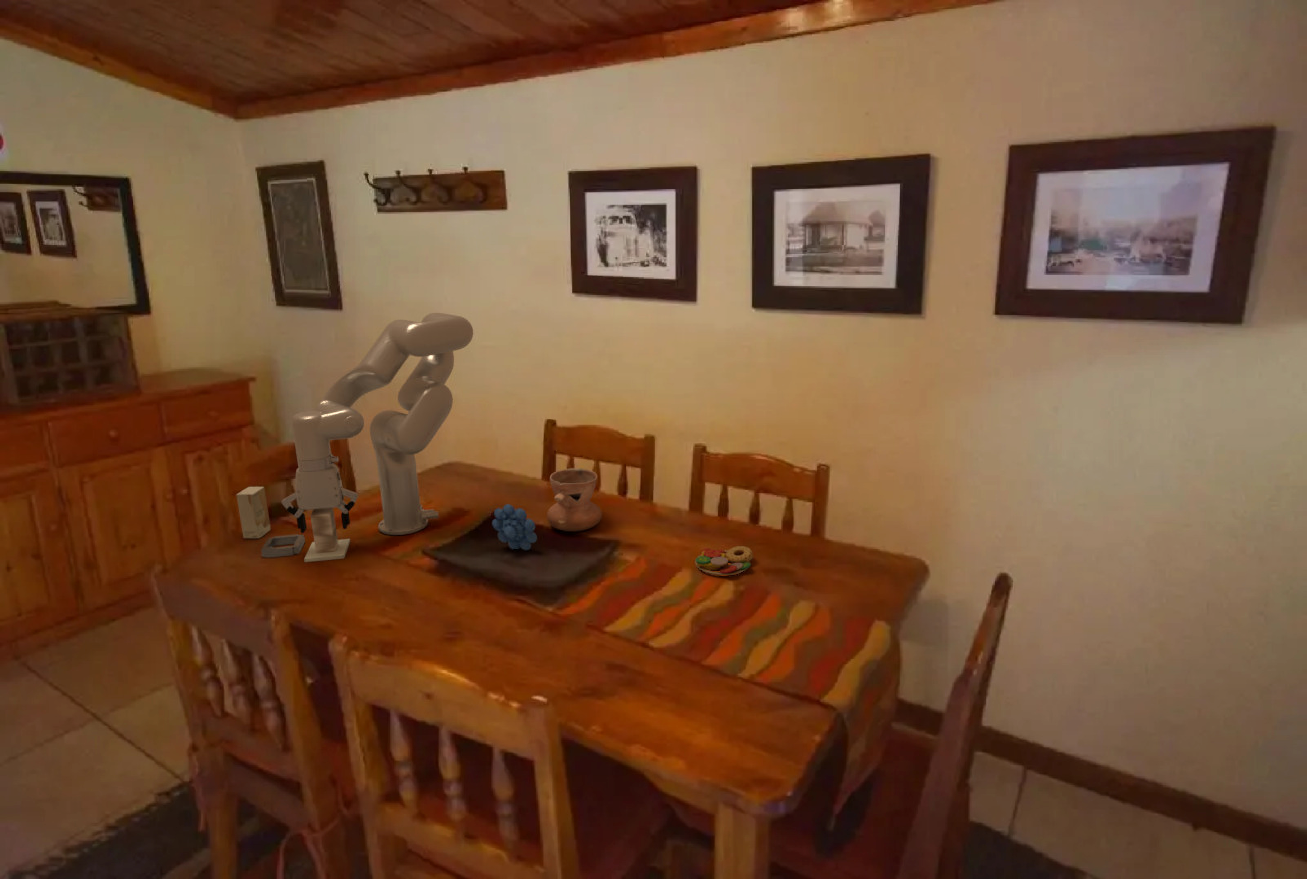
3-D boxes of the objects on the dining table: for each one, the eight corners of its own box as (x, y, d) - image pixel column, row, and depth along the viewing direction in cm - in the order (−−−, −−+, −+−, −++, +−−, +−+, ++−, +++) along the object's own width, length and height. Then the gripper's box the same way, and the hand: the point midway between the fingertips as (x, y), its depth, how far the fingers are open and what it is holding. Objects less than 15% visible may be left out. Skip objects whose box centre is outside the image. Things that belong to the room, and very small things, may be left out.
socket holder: (305, 540, 197) (304, 533, 196) (298, 554, 189) (297, 547, 188) (270, 544, 195) (268, 536, 194) (261, 558, 187) (260, 550, 186)
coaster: (350, 541, 196) (349, 538, 196) (344, 558, 187) (343, 555, 186) (312, 545, 194) (312, 542, 194) (304, 562, 185) (304, 559, 184)
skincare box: (259, 538, 198) (252, 494, 194) (243, 539, 198) (235, 494, 194) (272, 528, 204) (264, 485, 201) (255, 528, 204) (248, 485, 201)
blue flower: (486, 554, 188) (482, 509, 184) (498, 543, 194) (495, 499, 190) (530, 559, 185) (527, 513, 181) (541, 548, 191) (538, 503, 188)
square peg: (338, 544, 193) (332, 507, 190) (335, 551, 188) (329, 513, 185) (319, 545, 192) (314, 508, 189) (316, 553, 188) (310, 515, 185)
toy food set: (755, 558, 185) (755, 545, 184) (747, 583, 173) (747, 569, 172) (701, 552, 189) (701, 540, 188) (689, 576, 177) (689, 563, 176)
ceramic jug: (583, 542, 194) (582, 489, 190) (534, 532, 200) (532, 481, 196) (615, 518, 210) (614, 468, 206) (568, 509, 216) (567, 461, 212)
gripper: (355, 455, 189) (363, 519, 194) (280, 460, 185) (290, 526, 190) (351, 465, 182) (359, 531, 187) (272, 470, 178) (283, 538, 183)
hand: (324, 528), depth 189 cm, fingers open, 9 cm apart
